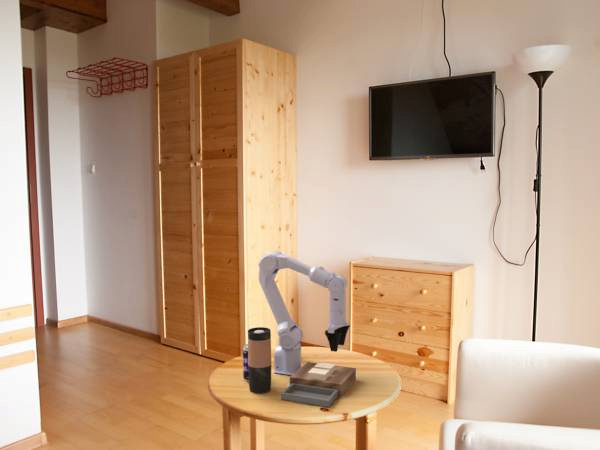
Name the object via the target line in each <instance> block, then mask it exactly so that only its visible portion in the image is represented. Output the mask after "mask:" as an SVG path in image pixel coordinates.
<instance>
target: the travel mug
mask: <svg viewBox="0 0 600 450" xmlns="http://www.w3.org/2000/svg"><path fill="white" fill-rule="evenodd" d="M271 333H272V332H271V328H268V327H265V326H264V327H261V326H258V327H251V328H249V329H248V330H247V344H248V370H249V381H248V386H249V387H248V388H249V391H250V392H251V393H252V392H253V394H259V395H260V394H267V393H268V392H270V391H271V390H272V334H271Z"/></svg>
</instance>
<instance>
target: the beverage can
mask: <svg viewBox="0 0 600 450" xmlns="http://www.w3.org/2000/svg"><path fill="white" fill-rule="evenodd" d="M242 369H243V371H242V374H243V379H244V380H245V381H246V380H247V381H246V382H249V370H248V343H246V344H245V345H244V346H243V349H242Z"/></svg>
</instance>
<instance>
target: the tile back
mask: <svg viewBox="0 0 600 450" xmlns="http://www.w3.org/2000/svg"><path fill="white" fill-rule="evenodd" d="M317 363H318V364H317V365H315V366H314V368H318V369H325V370H330V374H332V373H333V372H334V371H335V366H336V364H335V363H329V362H319V361H318V362H317Z"/></svg>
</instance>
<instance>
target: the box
mask: <svg viewBox="0 0 600 450" xmlns="http://www.w3.org/2000/svg"><path fill="white" fill-rule="evenodd" d="M338 398H339V396H338V390H335V389H328V388H322V387H315V386H308V385H301V384H295V383H292V384H291V385H290V384H289V385H288V386H287V387H286V388H285V389H284V390H283V391H281V393H280V400H281V401H284V402H291V403H296V404H297V403H298V404H303V405H309V406H316V407H321V408H326V409H327V408H330V407H331V406H332V405H333V404H334V403H335V401H336V400H337V399H338Z"/></svg>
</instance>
